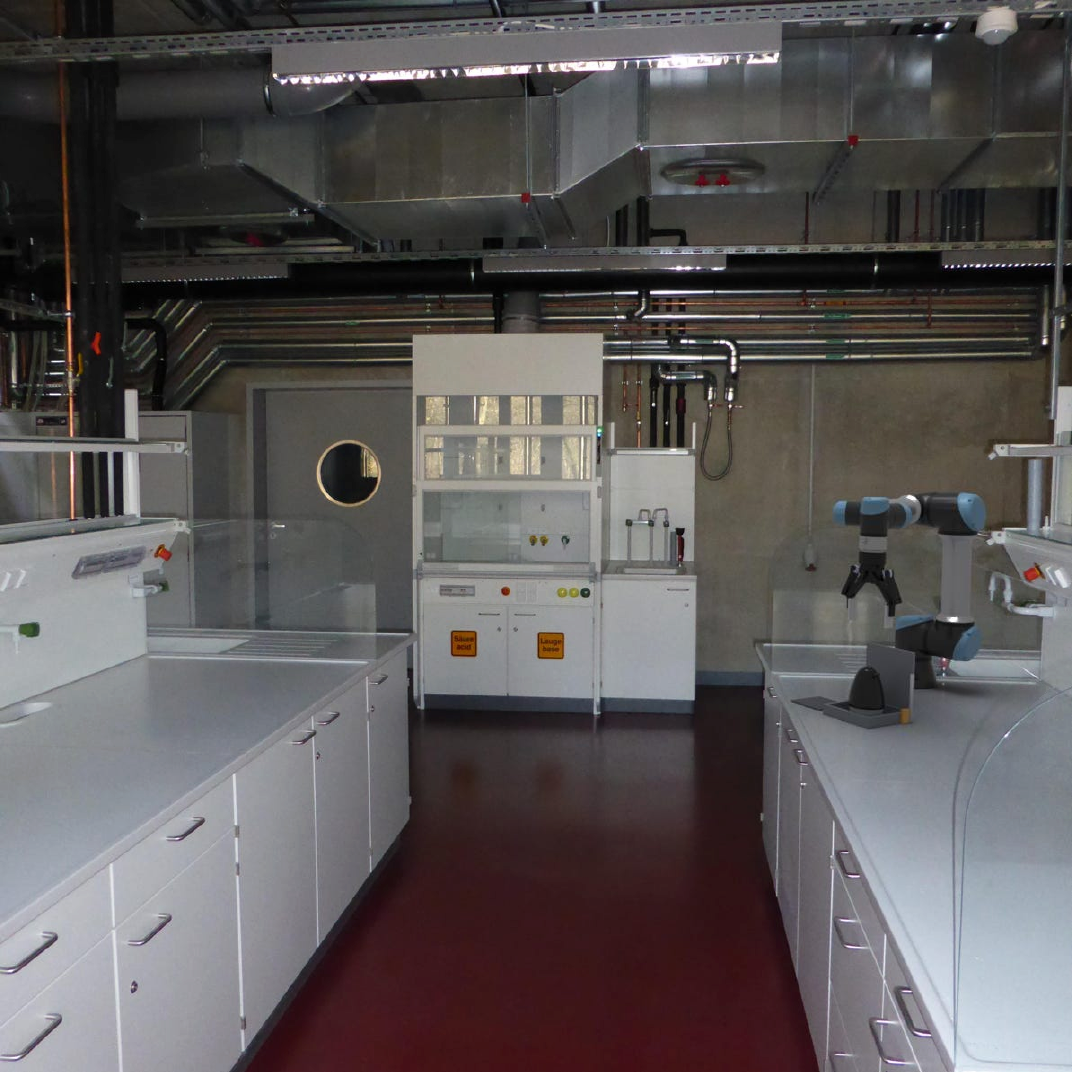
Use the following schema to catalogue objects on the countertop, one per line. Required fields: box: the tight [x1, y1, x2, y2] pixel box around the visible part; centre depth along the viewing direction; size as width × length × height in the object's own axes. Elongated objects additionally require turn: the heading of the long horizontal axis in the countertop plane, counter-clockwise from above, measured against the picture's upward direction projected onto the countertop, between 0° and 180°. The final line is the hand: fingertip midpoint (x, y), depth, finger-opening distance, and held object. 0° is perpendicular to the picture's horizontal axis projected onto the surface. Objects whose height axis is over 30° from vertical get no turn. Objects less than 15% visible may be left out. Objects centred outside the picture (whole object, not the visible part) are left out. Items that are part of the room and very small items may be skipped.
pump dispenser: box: [847, 665, 885, 717], centre depth 278 cm, size 10×10×15 cm
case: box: [822, 641, 915, 730], centre depth 277 cm, size 18×18×20 cm
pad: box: [790, 695, 838, 712], centre depth 293 cm, size 12×12×1 cm
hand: (869, 624), depth 276 cm, fingers open, 13 cm apart
